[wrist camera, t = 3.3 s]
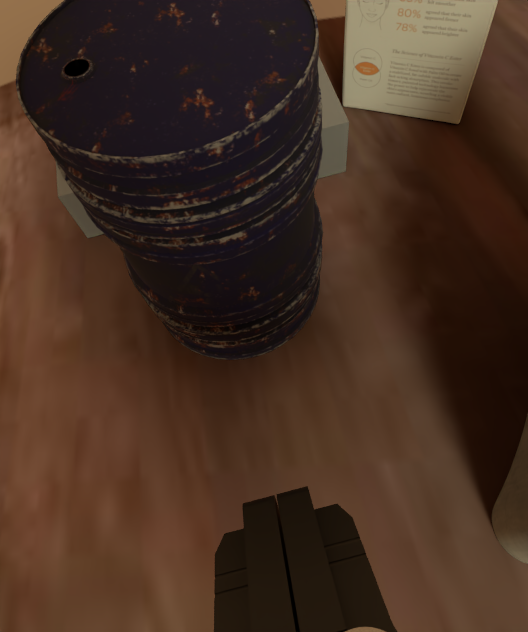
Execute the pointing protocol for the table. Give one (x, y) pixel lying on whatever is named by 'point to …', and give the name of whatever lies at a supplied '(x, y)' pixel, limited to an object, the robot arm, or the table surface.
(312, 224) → the black ribbed barrel
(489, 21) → the small box
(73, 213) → the grey u-shaped frame
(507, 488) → the hip flask
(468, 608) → the table surface
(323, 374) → the table surface
